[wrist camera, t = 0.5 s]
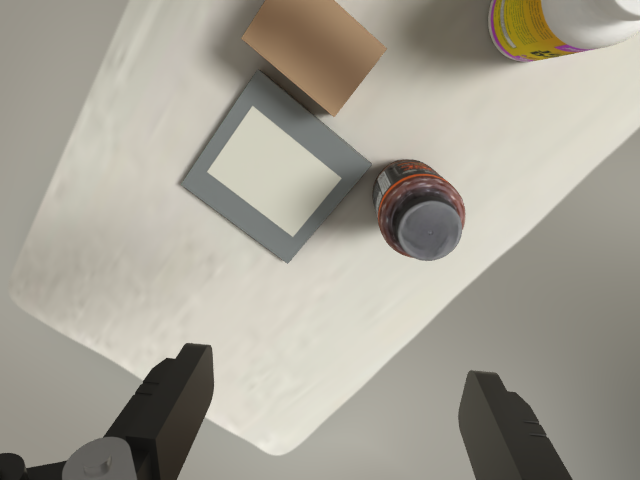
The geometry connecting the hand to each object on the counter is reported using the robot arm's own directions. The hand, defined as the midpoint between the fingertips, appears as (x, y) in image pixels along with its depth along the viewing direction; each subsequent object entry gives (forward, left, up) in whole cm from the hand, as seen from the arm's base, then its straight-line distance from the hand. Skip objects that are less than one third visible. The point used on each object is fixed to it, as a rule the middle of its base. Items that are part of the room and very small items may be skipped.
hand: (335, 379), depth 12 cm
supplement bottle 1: (-4, +4, -25) cm, 25 cm away
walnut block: (-8, -9, -25) cm, 27 cm away
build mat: (+2, -6, -24) cm, 25 cm away
